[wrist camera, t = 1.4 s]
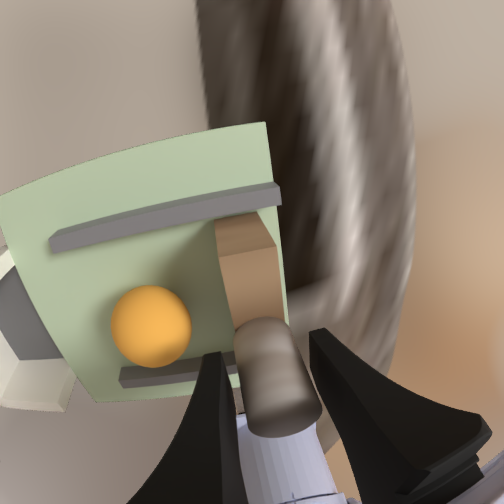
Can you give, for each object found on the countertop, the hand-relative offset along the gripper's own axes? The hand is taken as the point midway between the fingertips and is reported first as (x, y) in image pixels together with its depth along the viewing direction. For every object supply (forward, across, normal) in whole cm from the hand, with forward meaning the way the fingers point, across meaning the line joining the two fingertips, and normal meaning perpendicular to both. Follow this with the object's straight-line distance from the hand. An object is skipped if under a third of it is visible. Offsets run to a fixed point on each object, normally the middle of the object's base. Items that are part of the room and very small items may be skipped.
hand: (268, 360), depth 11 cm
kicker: (+6, 0, 0) cm, 6 cm away
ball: (+3, +5, 0) cm, 6 cm away
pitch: (+7, +9, 0) cm, 11 cm away
